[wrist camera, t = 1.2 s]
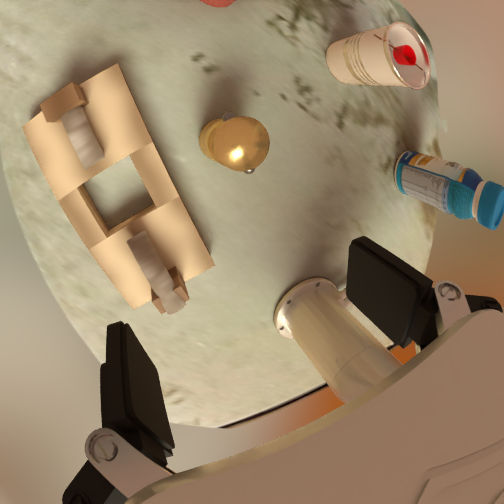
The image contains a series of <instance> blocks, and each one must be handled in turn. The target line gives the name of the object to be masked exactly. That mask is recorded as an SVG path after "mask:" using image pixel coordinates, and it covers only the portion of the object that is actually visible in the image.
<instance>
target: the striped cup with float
mask: <svg viewBox="0 0 504 504" xmlns="http://www.w3.org/2000/svg"><path fill="white" fill-rule="evenodd" d="M326 62H327V65H328V68H329V70H330V72H331V73H332V75H333V76H334V77H335V78H336V79H337V80H339V81H340V82H342V83H345V84H364V85H382V86H383V85H384V86H404V87H410V88H412V89H416V90H419V89H422V88H424V87H425V86H426V84H427V83H428V81H429V78H430V72H431V65H430V58H429V54H428V51H427V48H426V46H425V44H424V42H423V40H422V39H421V37H420V36H419V34H418V33H417V32H416V31H415V30H414V29H413V28H412V27H411V26H409V25H408V24H406V23H403V22H394V23H392V24H391V25H389V26H385V27H381V28H377V29H373V30H368V31H365V32H362V33H358V34H355V35H353V36H350V37H347V38H344V39H342V40H339V41H336V42H334V43H332V44H331V45H330V46H329V47H328V49H327V52H326Z"/></svg>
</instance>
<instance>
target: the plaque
mask: <svg viewBox="0 0 504 504" xmlns="http://www.w3.org/2000/svg"><path fill="white" fill-rule="evenodd" d="M200 1H202V2H204V3H206V4H208V5H210V6H213V7H226V6H229V5H231V4H232V3H233V2H234V1H235V0H200Z"/></svg>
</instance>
